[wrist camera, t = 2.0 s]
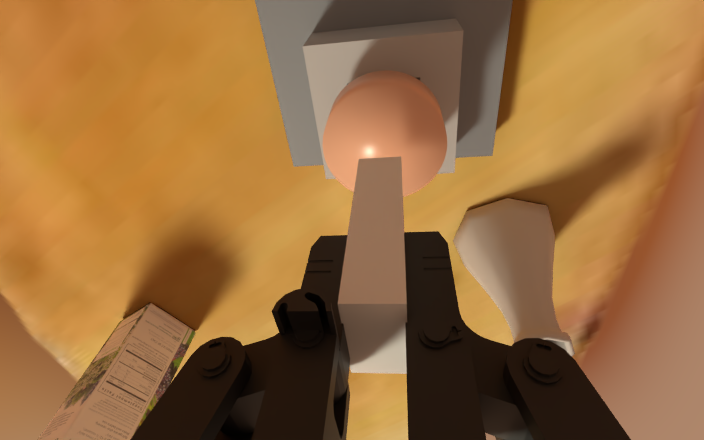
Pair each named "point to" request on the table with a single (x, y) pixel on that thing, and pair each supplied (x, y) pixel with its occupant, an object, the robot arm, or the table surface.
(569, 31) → the table surface
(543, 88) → the table surface
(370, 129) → the button terracotta
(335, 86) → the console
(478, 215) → the flask
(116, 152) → the table surface
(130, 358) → the syrup box
